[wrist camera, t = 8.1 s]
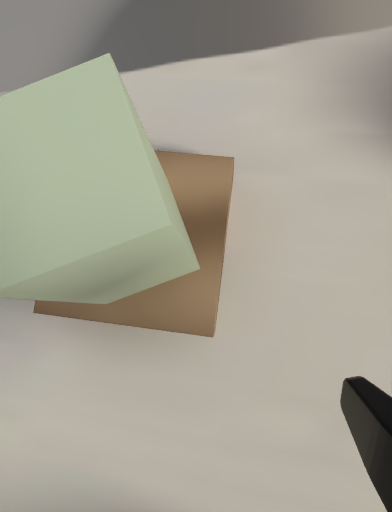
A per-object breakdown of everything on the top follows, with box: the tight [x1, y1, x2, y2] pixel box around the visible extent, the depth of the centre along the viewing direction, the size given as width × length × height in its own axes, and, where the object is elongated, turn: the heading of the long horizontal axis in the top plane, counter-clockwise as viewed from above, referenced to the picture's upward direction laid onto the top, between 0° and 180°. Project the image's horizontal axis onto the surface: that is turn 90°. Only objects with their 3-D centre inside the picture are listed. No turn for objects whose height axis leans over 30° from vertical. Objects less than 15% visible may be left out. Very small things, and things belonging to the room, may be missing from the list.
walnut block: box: [33, 151, 234, 337], centre depth 22 cm, size 10×10×4 cm
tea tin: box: [0, 53, 200, 304], centre depth 15 cm, size 6×6×10 cm
